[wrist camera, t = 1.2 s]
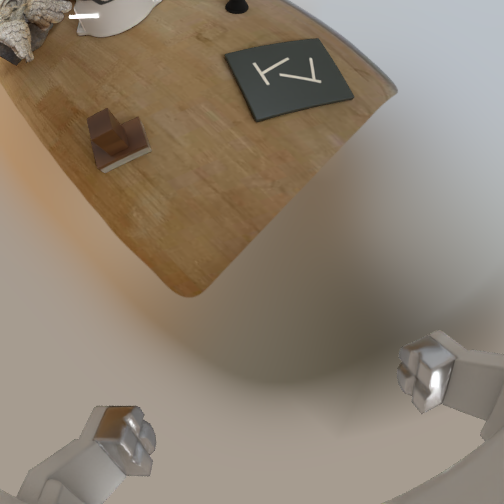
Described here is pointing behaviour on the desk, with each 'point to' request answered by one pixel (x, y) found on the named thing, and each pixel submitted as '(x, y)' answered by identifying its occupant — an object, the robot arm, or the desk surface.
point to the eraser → (116, 140)
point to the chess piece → (237, 6)
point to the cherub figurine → (27, 26)
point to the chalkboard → (287, 77)
